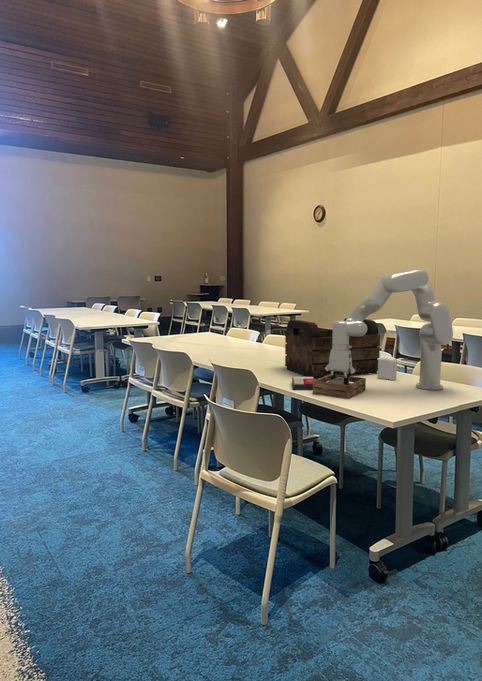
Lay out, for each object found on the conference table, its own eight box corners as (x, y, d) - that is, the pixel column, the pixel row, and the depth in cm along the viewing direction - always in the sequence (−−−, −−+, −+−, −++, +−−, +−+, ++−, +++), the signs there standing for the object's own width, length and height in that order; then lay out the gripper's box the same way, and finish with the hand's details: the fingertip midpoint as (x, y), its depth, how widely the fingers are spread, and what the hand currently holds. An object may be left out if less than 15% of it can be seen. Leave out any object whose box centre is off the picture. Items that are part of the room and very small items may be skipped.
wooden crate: (313, 380, 255) (314, 324, 251) (285, 369, 286) (285, 319, 283) (379, 374, 270) (380, 321, 266) (345, 364, 301) (346, 316, 297)
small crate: (338, 383, 232) (338, 377, 231) (349, 384, 229) (349, 378, 228) (329, 386, 224) (330, 380, 223) (340, 388, 220) (340, 382, 220)
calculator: (293, 383, 231) (292, 375, 245) (293, 392, 232) (292, 383, 246) (316, 383, 230) (313, 375, 245) (315, 392, 231) (313, 384, 245)
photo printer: (376, 378, 258) (376, 355, 257) (380, 376, 261) (381, 354, 259) (393, 381, 250) (393, 357, 249) (397, 379, 253) (398, 356, 251)
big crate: (330, 385, 240) (330, 374, 239) (365, 390, 230) (365, 378, 229) (312, 393, 223) (312, 381, 223) (349, 398, 213) (349, 385, 212)
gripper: (360, 347, 222) (359, 385, 224) (326, 345, 232) (326, 381, 234) (354, 349, 216) (353, 388, 218) (320, 346, 226) (319, 384, 228)
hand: (339, 384), depth 226 cm, fingers closed on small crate, 5 cm apart
